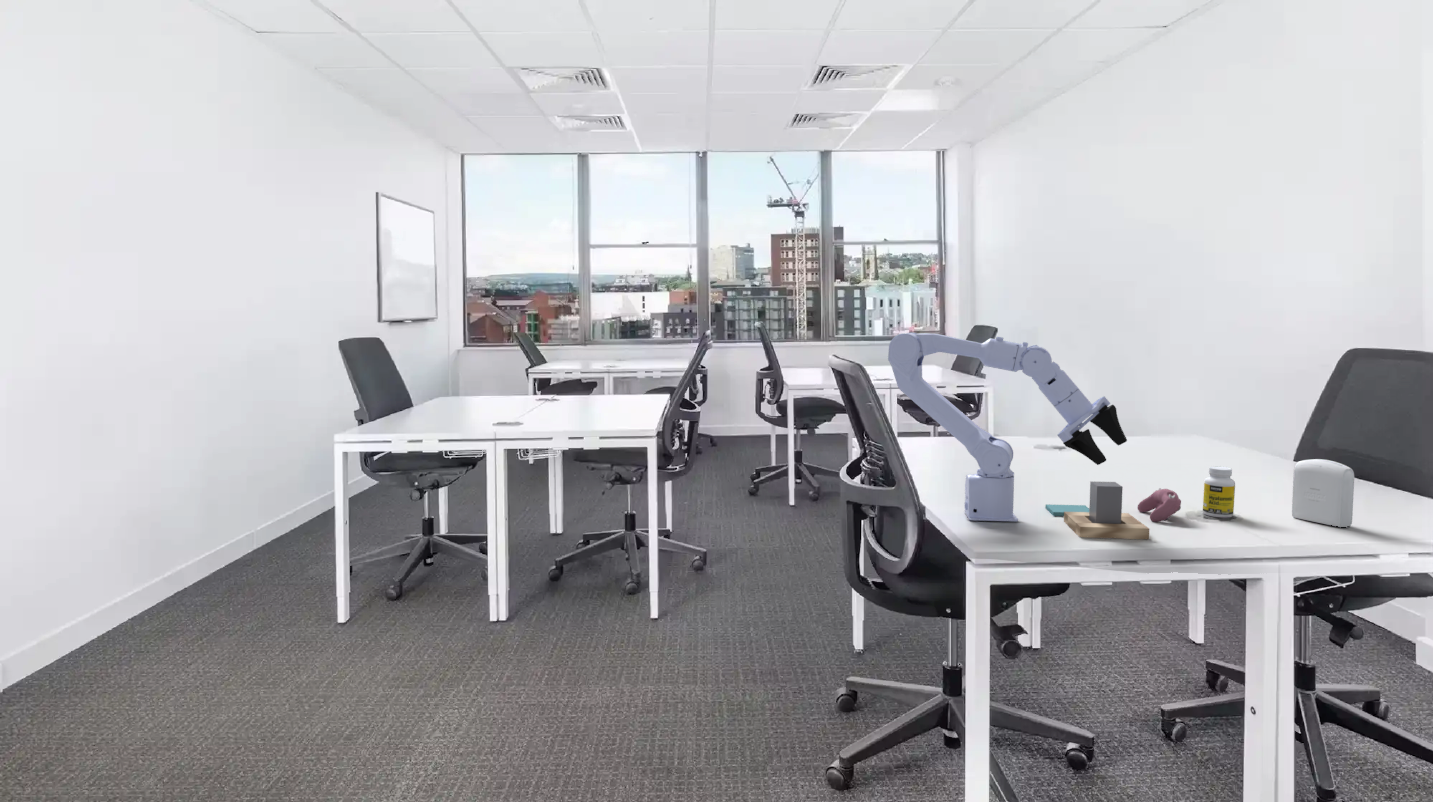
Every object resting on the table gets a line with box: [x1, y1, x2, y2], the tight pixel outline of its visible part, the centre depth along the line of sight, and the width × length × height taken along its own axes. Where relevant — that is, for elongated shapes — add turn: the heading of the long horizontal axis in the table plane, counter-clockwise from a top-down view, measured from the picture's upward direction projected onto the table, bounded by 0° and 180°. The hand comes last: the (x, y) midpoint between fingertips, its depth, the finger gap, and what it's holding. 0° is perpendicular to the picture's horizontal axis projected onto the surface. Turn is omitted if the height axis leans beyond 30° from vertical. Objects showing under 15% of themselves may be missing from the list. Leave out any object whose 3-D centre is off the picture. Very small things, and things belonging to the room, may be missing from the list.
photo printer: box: [1291, 458, 1355, 528], centre depth 161 cm, size 10×4×12 cm, turn 20°
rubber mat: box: [1044, 504, 1089, 517], centre depth 173 cm, size 8×7×1 cm
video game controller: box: [1137, 487, 1182, 523], centre depth 168 cm, size 10×5×7 cm, turn 168°
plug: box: [1088, 481, 1123, 524], centre depth 158 cm, size 4×4×9 cm
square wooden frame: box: [1063, 512, 1150, 540], centre depth 158 cm, size 12×12×2 cm
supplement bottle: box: [1202, 465, 1236, 519], centre depth 168 cm, size 5×5×10 cm
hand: (1112, 452), depth 160 cm, fingers open, 7 cm apart
